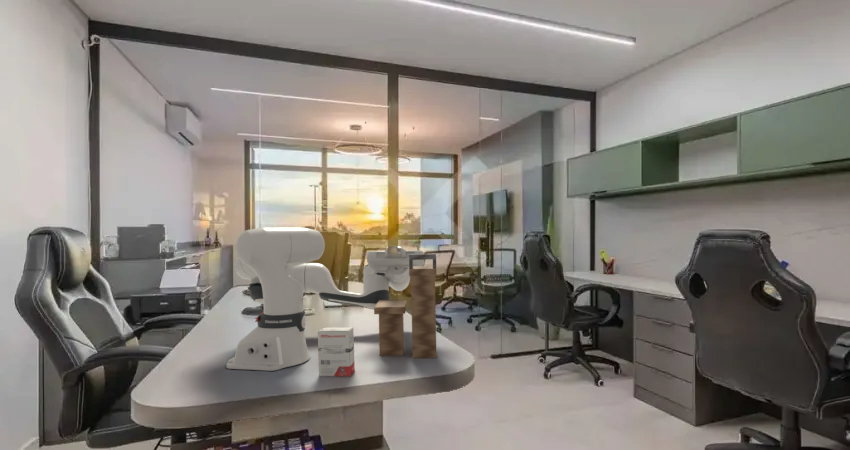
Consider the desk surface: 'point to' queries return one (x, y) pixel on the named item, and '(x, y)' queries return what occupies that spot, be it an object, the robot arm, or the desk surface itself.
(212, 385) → the desk surface
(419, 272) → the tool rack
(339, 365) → the ink box
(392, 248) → the handle
